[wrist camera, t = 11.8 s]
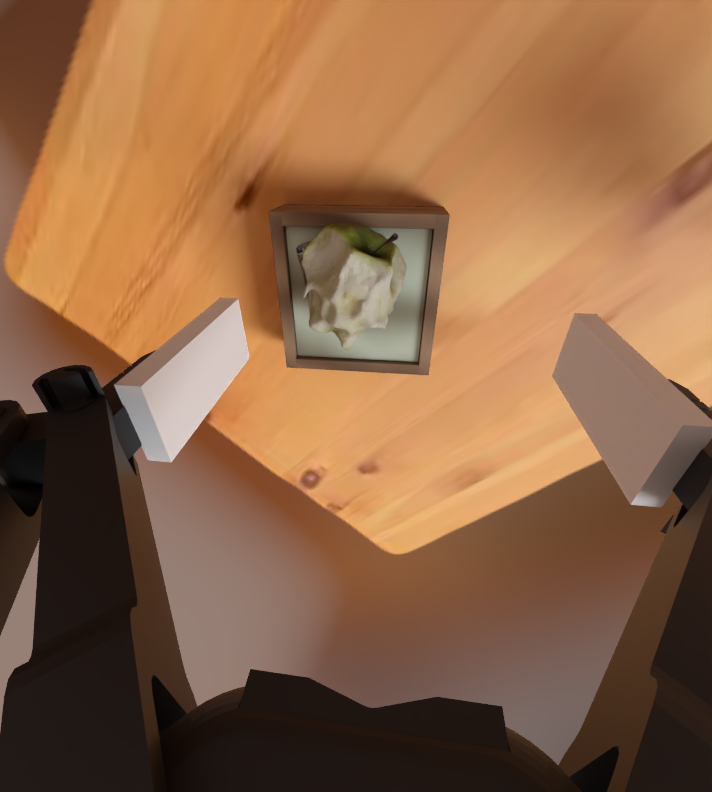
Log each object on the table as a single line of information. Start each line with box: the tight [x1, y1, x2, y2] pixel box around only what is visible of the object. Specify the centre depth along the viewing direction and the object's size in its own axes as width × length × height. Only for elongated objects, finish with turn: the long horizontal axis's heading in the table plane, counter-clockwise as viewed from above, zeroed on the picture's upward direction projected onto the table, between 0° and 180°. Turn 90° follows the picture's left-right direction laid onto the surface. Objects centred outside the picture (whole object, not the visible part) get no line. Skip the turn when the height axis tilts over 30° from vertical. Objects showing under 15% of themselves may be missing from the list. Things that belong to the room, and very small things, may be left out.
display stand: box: [269, 204, 449, 375], centre depth 34 cm, size 14×14×5 cm
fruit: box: [296, 223, 407, 350], centre depth 29 cm, size 9×9×8 cm
